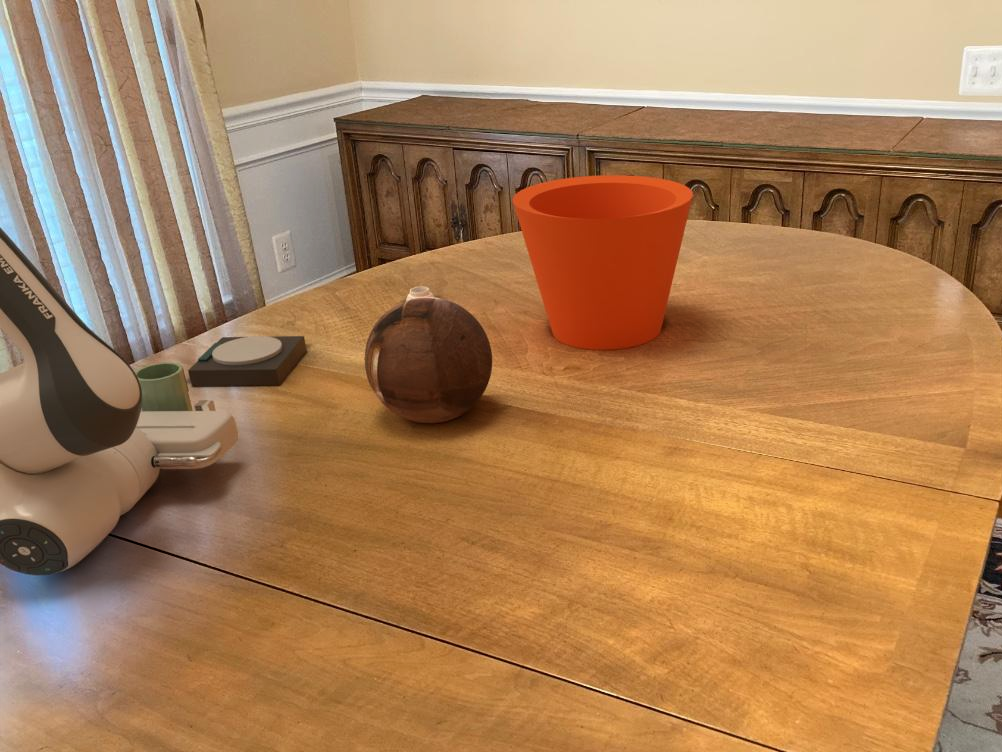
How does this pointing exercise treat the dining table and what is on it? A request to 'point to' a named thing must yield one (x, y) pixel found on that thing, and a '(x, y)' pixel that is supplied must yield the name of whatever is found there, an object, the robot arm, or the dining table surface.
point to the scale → (248, 361)
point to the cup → (164, 387)
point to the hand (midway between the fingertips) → (168, 406)
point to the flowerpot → (604, 254)
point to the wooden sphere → (428, 360)
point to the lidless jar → (419, 293)
